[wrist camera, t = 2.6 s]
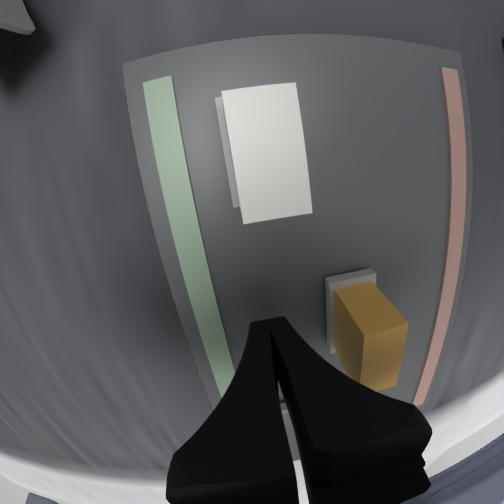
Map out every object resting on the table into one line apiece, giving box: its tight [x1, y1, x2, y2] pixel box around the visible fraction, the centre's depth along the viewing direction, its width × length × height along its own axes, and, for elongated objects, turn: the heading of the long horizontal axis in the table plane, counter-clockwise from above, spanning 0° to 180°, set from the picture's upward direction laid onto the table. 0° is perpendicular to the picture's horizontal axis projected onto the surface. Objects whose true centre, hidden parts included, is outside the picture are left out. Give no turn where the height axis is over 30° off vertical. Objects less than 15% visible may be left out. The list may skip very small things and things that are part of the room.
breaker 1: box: [215, 82, 313, 224], centre depth 8 cm, size 2×4×4 cm, turn 9°
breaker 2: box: [280, 403, 305, 483], centre depth 13 cm, size 2×4×4 cm, turn 9°
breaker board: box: [122, 34, 473, 410], centre depth 13 cm, size 14×22×2 cm, turn 9°
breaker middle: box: [325, 268, 409, 392], centre depth 11 cm, size 2×4×4 cm, turn 9°
